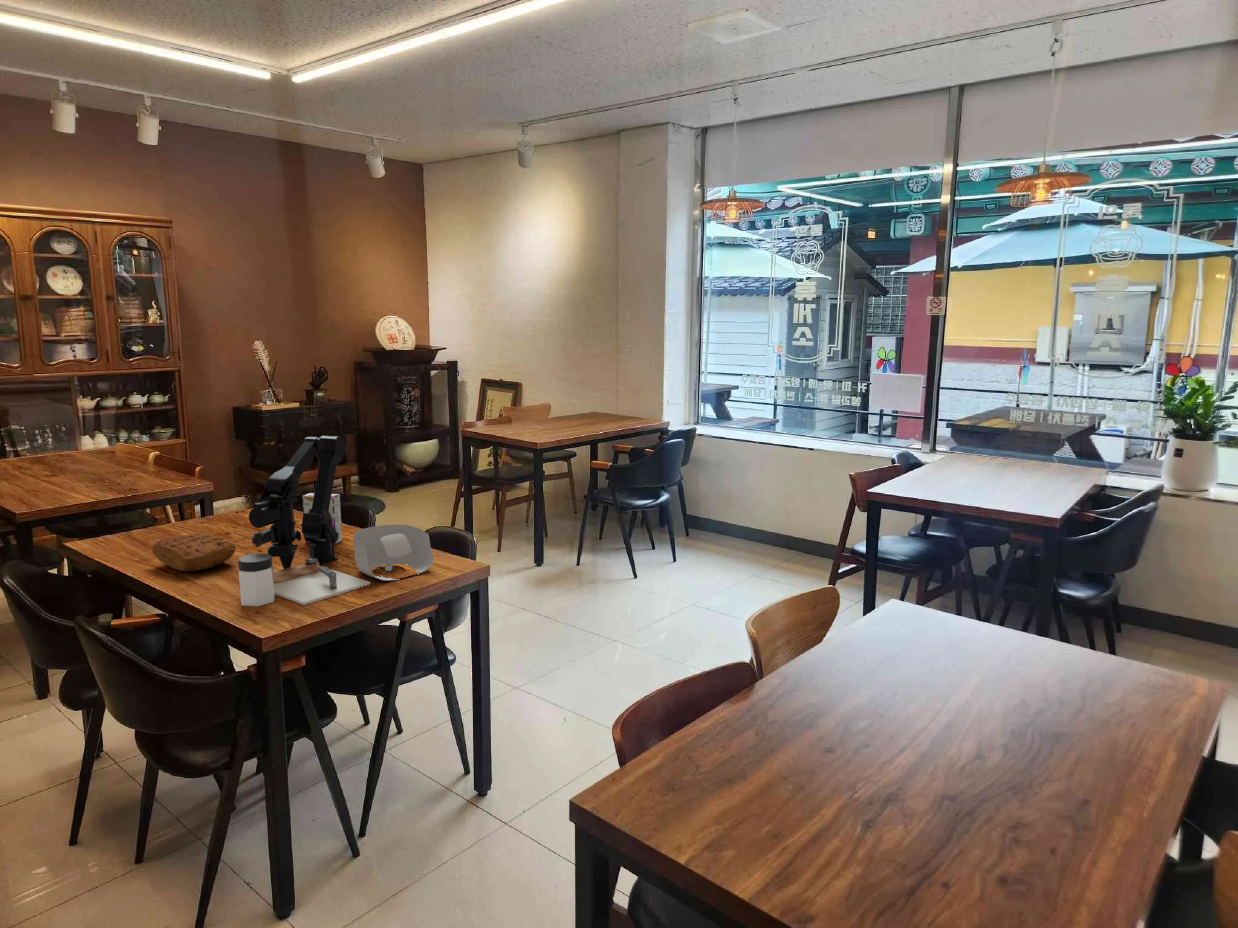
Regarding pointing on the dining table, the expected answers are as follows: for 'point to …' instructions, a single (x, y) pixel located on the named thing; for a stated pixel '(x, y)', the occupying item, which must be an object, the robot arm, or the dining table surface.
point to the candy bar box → (333, 510)
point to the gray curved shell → (392, 548)
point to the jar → (256, 579)
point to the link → (295, 571)
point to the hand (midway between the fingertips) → (287, 571)
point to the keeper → (325, 572)
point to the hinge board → (316, 587)
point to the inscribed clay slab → (193, 551)
